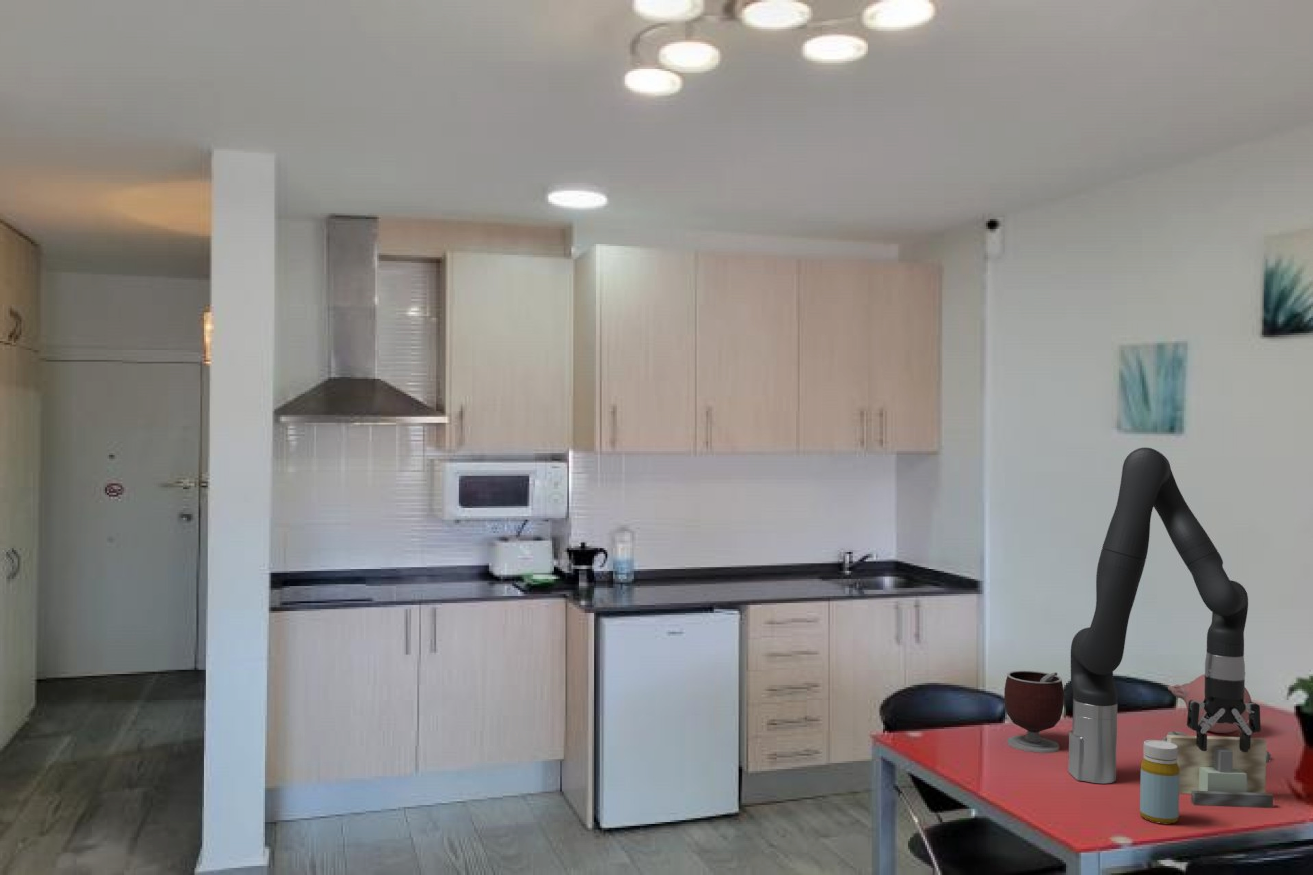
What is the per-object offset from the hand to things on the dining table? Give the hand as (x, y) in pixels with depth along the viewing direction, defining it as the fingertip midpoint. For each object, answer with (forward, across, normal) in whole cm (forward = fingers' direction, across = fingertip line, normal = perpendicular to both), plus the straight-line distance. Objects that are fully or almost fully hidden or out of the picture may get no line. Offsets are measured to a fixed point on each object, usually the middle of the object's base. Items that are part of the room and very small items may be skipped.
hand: (1223, 750), depth 226 cm
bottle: (+10, +19, +14) cm, 26 cm away
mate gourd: (+10, +29, -34) cm, 46 cm away
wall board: (+10, 0, 0) cm, 10 cm away
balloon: (+10, -22, -54) cm, 59 cm away
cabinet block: (+10, 0, 0) cm, 10 cm away
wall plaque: (+11, -12, -30) cm, 34 cm away
